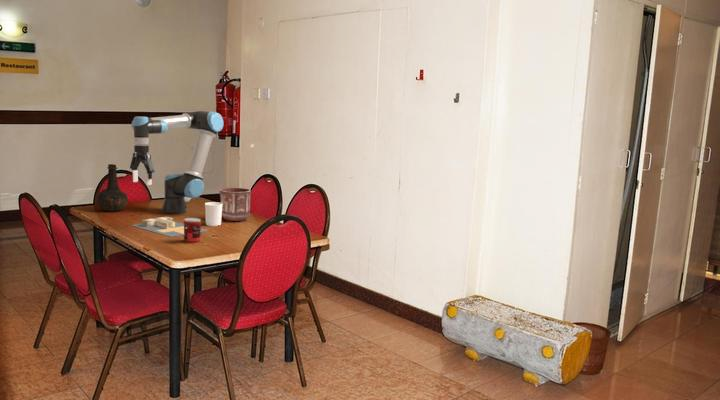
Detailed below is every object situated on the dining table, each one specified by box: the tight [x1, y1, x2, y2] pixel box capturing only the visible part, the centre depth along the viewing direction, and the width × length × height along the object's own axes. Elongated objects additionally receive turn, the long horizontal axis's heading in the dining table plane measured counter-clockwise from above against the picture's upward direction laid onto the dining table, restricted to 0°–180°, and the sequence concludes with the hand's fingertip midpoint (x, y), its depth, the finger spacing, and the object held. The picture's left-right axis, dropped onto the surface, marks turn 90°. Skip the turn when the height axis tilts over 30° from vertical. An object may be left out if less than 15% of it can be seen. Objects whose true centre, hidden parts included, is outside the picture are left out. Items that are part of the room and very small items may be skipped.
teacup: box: [184, 197, 192, 204], centre depth 410 cm, size 14×11×8 cm
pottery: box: [219, 187, 252, 223], centre depth 359 cm, size 18×18×18 cm
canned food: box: [183, 217, 202, 244], centre depth 303 cm, size 8×8×11 cm
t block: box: [141, 216, 176, 229], centre depth 333 cm, size 16×15×3 cm
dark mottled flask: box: [96, 163, 129, 213], centre depth 367 cm, size 18×18×28 cm
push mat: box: [130, 220, 210, 238], centre depth 329 cm, size 24×36×1 cm, turn 52°
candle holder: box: [204, 201, 223, 227], centre depth 343 cm, size 10×10×12 cm
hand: (142, 183), depth 338 cm, fingers open, 13 cm apart
